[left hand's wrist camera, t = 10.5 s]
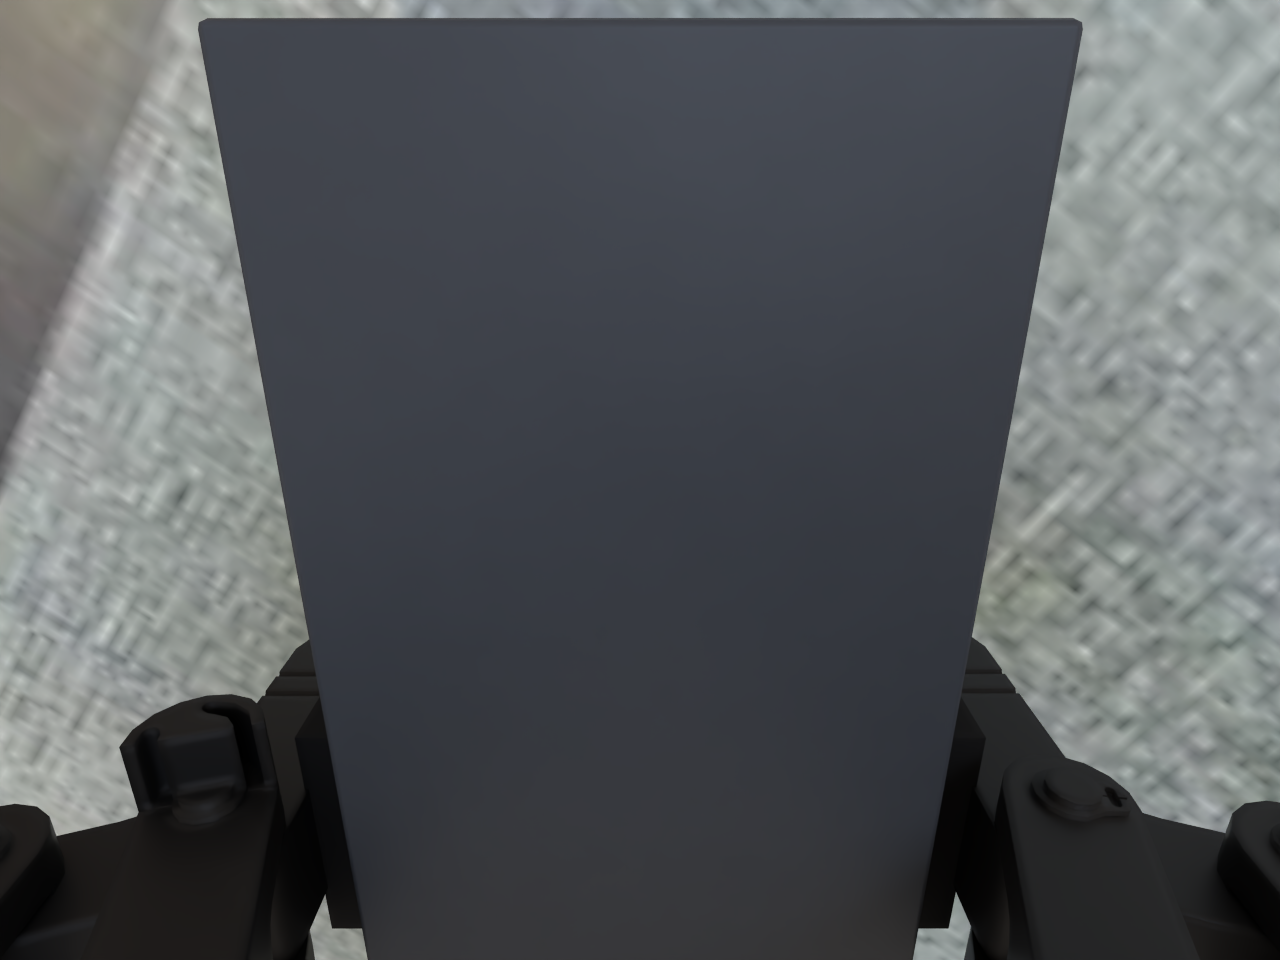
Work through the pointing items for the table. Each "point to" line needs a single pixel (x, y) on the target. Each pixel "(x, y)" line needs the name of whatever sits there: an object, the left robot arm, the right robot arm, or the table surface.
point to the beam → (640, 451)
